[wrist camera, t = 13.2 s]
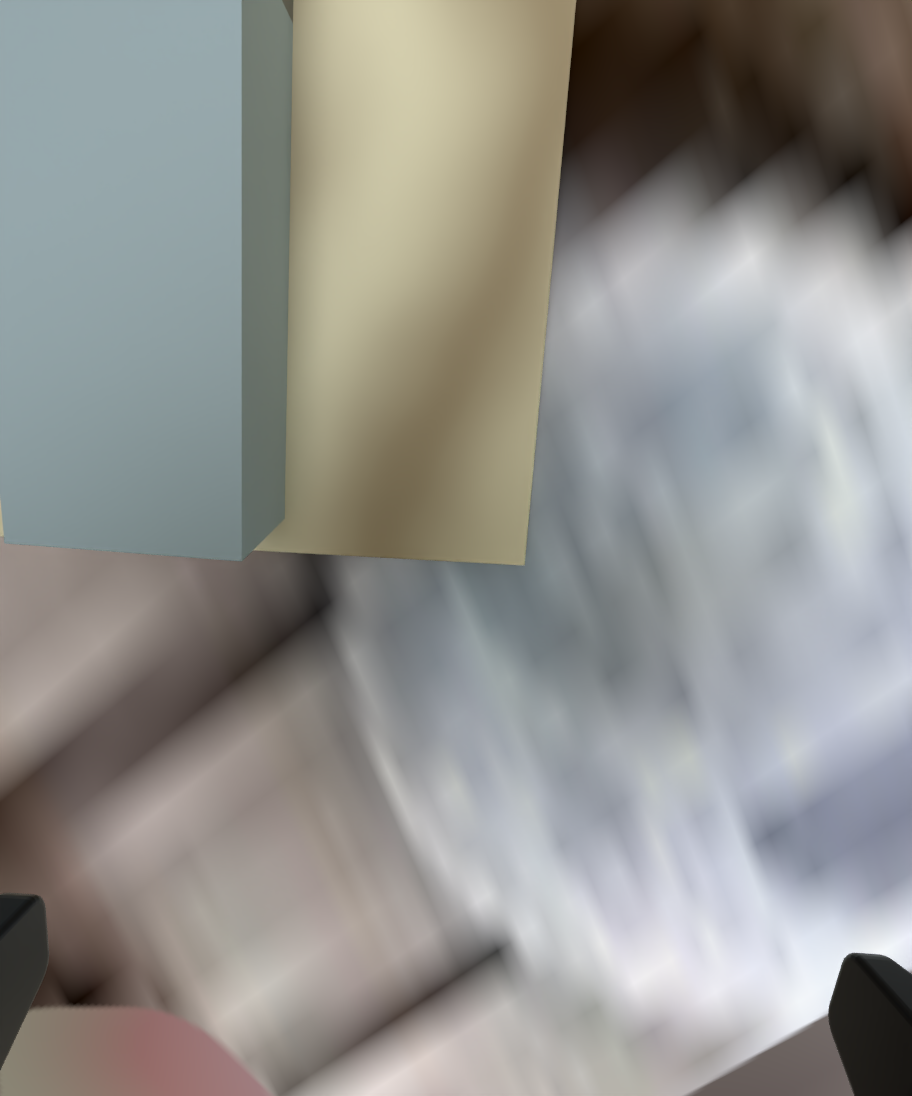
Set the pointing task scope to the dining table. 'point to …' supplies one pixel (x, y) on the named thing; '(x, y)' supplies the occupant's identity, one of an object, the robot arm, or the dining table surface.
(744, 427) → the dining table surface
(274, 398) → the slate block
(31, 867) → the dining table surface
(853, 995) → the robot arm
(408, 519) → the birch board
